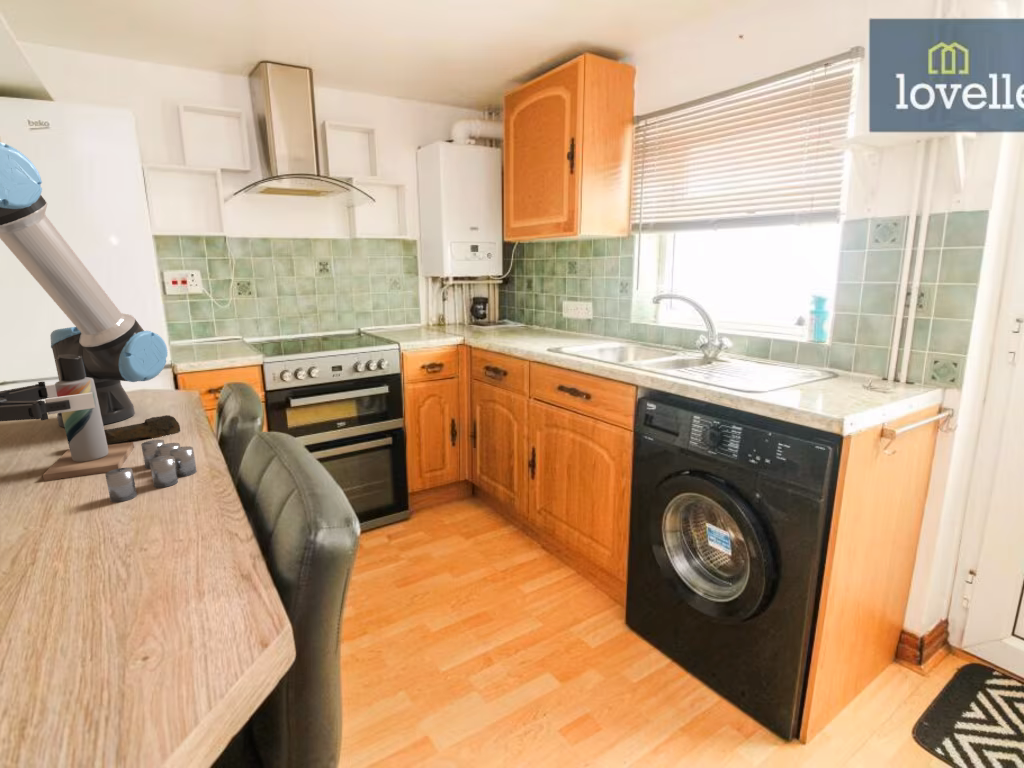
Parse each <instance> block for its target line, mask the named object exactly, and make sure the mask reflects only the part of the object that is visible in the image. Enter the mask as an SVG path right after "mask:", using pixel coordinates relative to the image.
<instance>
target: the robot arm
mask: <svg viewBox="0 0 1024 768" xmlns="http://www.w3.org/2000/svg"><path fill="white" fill-rule="evenodd" d="M42 183H43V181H42V177H41V175H40V172H39V171H38V169H37V168H36V166H35V165H34V163H33V161H31V160H30V159H29V158H28V157H27V156H26V155H25V154H24V153H22V152H21V151H20V150H18V149H17V148H15V147H13V146H11V145H9V144H7V143H5V142H1V141H0V240H1V241H2V242H3V244H5V246H6V247H7V248H8V250H10V252H11V253H12V254H13V255H14V256H15V257H16V259H17V260H18V261H19V262H20V263H21V265H22V266H24V268H25V269H26V271H28V273H29V274H30V275H31V276H32V277H33V278H34V280H35V281H36V282H37V283H38V284H39V285H40V286H41V288H42V289H43V290H44V291H45V293H47V295H48V296H49V297H50V298H51V300H53V302H54V303H55V304H56V305H57V306H58V307H59V309H60V310H61V311H62V312H63V314H64V315H66V317H67V318H68V320H70V321H71V323H72V324H73V325H74V326H71V327H65V328H57V329H55V330H52V332H51V333H50V348H51V349H52V350H51V351H52V353H53V354H52V355H53V358H54V363H55V368H56V371H57V372H56V374H57V377H58V381H61V379H60V375H59V371H58V366H57V362H56V359H58V356H59V355H65V354H71V355H81V356H82V358H83V362H84V367H85V372H86V377H89V378H93V380H94V384H95V388H96V393H97V398H98V403H99V407H100V412H101V417H102V422H103V426H104V425H108V424H112V423H113V424H114V423H117V422H121V421H124V420H127V419H129V418H132V417H133V416H134V415H135V414H136V412H135V406H134V403H133V402H132V400H131V398H130V397H129V396H128V394H127V392H126V391H125V389H124V387H123V386H122V382H130V383H136V382H146V381H150V380H153V379H155V378H156V377H157V376H159V374H161V372H162V371H163V370H164V368H165V366H166V364H167V357H168V348H167V344H166V342H165V340H164V339H163V338H162V337H161V336H160V335H159V334H157V333H155V332H153V331H151V330H150V331H149V330H144V329H143V328H142V326H141V325H140V323H139V322H138V321H137V320H136V318H135V317H134V316H133V315H132V314H126V313H123V312H121V311H120V309H119V308H118V306H117V305H116V304H115V303H114V302H113V300H112V299H111V298H110V296H108V294H107V293H106V291H105V290H104V289H103V288H102V286H101V285H100V284H99V282H98V281H97V280H96V279H95V277H94V276H93V274H91V271H89V270H88V268H87V267H86V265H85V264H84V263H83V262H82V261H81V259H80V258H79V256H78V255H77V254H76V253H75V252H74V250H73V249H72V248H71V246H70V245H69V243H68V242H67V241H66V240H65V239H64V237H63V236H62V234H61V233H60V232H59V231H58V229H57V228H56V227H55V225H54V224H53V223H52V222H51V220H50V218H49V217H48V216H47V215H46V210H47V206H48V203H47V201H46V199H45V198H44V197H43V196H42V192H43V187H41V184H42ZM90 408H95V404H94V399H93V394H92V393H84V394H77V395H69V396H61V397H58V396H57V392H56V387H55V383H54V384H46V382H45V381H38V382H37V383H35V384H33V385H32V384H31V385H28V386H27V385H26V386H22V387H16V388H11V389H10V388H9V389H6V390H5V389H4V390H0V422H12V421H27V420H29V421H30V420H40V421H47V420H49V415H56V414H57V415H56V418H57V423H58V426H59V427H62V428H65V427H64V423H63V418H62V414H61V413H63V412H70V411H76V410H83V409H90Z"/></svg>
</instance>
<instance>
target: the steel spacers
mask: <svg viewBox="0 0 1024 768" xmlns="http://www.w3.org/2000/svg"><path fill="white" fill-rule="evenodd" d="M140 446H141V451H142V456H143V463H144V468H145V469H148V470H150V472H151V478H152V484H153V487H154V488H157V489H162V488H168V487H171V486H174V485H176V484H178V483H179V478H183V477H189V476H192V475H194V474H196V473H197V464H196V458H195V453H194V452H195V451H194V447H193V446H187V445H186V446H181V444H180V443H179V442H169V443H168V442H167V443H165V440H164V439H151V440H146V441H144V442H142V443H141V444H140ZM104 474H105V475H104V476H105V479H106V480H105V481H106V484H107V485H106V486H107V490H108V495H109V501H110V502H112V503H123V502H126V501H130V500H132V499H134V498H136V497H137V496H138V493H137V487H136V482H135V477H134V471H133V468H132V467H121V468H119V469H114V470H111V471H109V472H105V473H104Z"/></svg>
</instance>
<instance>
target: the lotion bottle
mask: <svg viewBox="0 0 1024 768" xmlns="http://www.w3.org/2000/svg"><path fill="white" fill-rule="evenodd" d="M56 362H57V366H58V371H59V375H60V379H61V381H59V380H58V381H56V382H55V383H54V384H55V387H56V392H57V396H58V397H61V396H69V395H77V394H84V393H92V394H93V399H94V404H95V408H90V409H83V410H76V411H70V412H63V413H61V414H62V418H63V423H64V427H63V428H64V430H65V434H66V440H67V443H68V450H70V453H71V456H72V459H73V461H76V462H86V461H92V460H96V459H99V458H102V457H104V456H106V455H107V454H108V445H109V444H107V441H106V436H105V431H104V430H105V428H104V425H103V422H102V417H101V412H100V407H99V403H98V398H97V393H96V388H95V384H94V380H93V378H89V377H86V372H85V367H84V362H83V358H82V356H81V355H71V354H65V355H59V356H58V359H56Z"/></svg>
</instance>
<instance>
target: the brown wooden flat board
mask: <svg viewBox="0 0 1024 768" xmlns="http://www.w3.org/2000/svg"><path fill="white" fill-rule="evenodd" d="M107 445H108V454H107V455H106V456H104V457H102V458H99V459H96V460H92V461H86V462H76V461H73V459H72V456H71V453H70V449H67V450H66V451H65V452H64V453H63V455H61V456H60V457H59V458H58V459H57V460H56V461H55V462H54V463H53V464H52V465H51V466H50V467H49V468H47V470H45V472H44V473H43V474H42V476H43V480H44V482H47V481H46V480H49V481H53V479H56V480H61V478H63V479H69V477H70V478H75V477H76V476H77V477H83V476H91V475H96V474H106V473H107V472H109V471H111V470H114V469H119V468H122V466H123V465H124V464H125V462H126V460H127V459H128V457H129V456H130V455H131V453H132V451H133V450H134V448H135V445H134V442H133V441H131V442H129V441H128V442H120V443H112V444H107ZM77 477H76V478H77Z"/></svg>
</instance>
